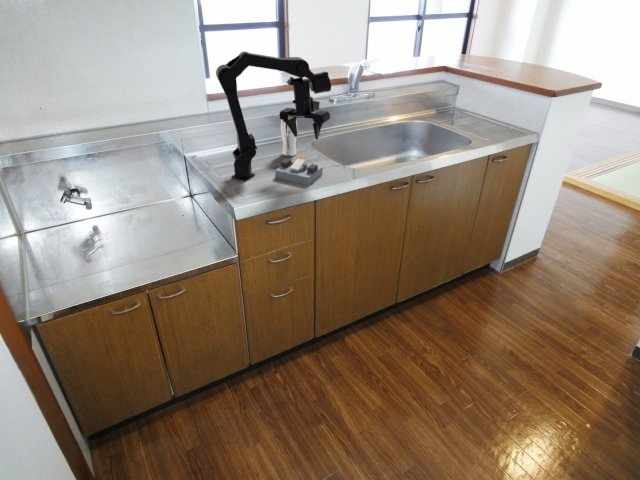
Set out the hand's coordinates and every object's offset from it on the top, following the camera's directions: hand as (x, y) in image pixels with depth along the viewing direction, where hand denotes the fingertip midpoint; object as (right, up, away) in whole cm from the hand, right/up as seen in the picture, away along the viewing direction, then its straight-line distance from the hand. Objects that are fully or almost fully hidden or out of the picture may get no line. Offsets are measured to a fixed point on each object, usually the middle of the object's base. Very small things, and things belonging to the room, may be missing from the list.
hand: (306, 137), depth 160 cm
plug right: (+2, -13, -1) cm, 13 cm away
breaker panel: (-3, -14, +2) cm, 14 cm away
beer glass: (-8, -2, +22) cm, 24 cm away
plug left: (-8, -10, +3) cm, 13 cm away
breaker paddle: (-3, -10, -1) cm, 10 cm away
